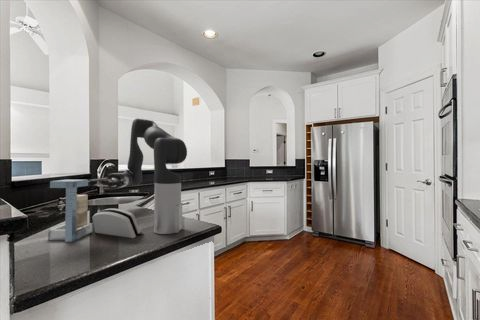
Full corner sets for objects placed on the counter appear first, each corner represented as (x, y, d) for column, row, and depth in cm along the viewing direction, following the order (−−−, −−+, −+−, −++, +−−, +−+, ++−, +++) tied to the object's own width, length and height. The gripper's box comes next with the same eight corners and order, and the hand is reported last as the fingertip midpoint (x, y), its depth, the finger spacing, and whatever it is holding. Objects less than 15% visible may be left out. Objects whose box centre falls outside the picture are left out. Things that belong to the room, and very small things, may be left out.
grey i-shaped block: (92, 232, 84) (92, 179, 84) (71, 242, 74) (72, 181, 74) (67, 232, 84) (68, 178, 84) (42, 242, 73) (44, 181, 74)
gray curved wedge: (144, 233, 83) (137, 208, 80) (134, 242, 79) (126, 215, 76) (107, 228, 88) (99, 204, 85) (96, 236, 84) (87, 211, 81)
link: (87, 226, 92) (87, 194, 92) (80, 229, 88) (81, 196, 88) (76, 226, 92) (77, 194, 92) (69, 229, 88) (69, 196, 88)
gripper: (102, 172, 117) (81, 174, 101) (132, 173, 118) (116, 175, 101) (102, 188, 117) (81, 192, 101) (132, 188, 118) (115, 193, 101)
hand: (98, 184), depth 101 cm, fingers open, 8 cm apart
